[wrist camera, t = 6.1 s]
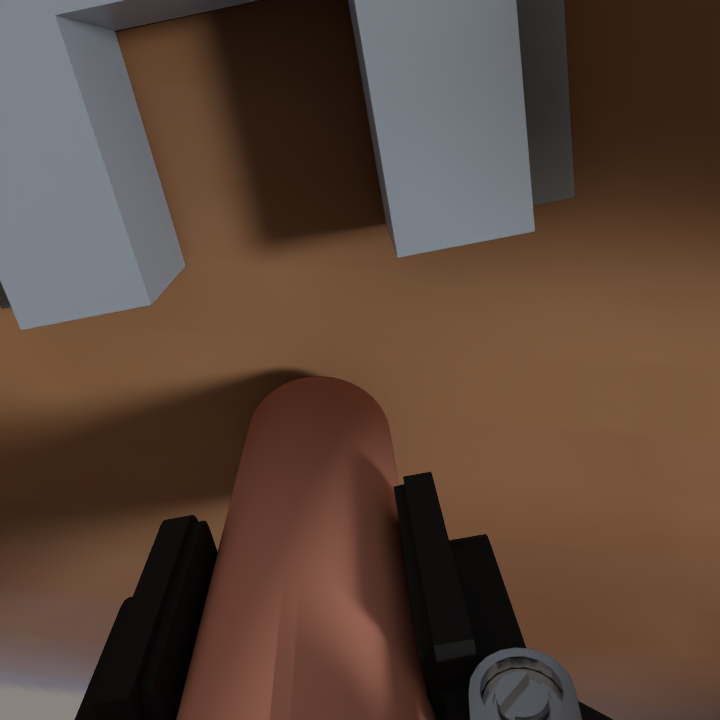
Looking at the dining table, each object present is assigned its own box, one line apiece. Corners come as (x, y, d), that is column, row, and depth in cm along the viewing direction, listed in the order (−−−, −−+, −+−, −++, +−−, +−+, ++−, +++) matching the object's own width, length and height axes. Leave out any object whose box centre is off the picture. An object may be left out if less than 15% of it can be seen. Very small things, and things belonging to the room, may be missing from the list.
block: (453, -235, 12) (489, -336, 9) (498, 204, 15) (535, 231, 12) (-72, -116, 12) (-193, -178, 9) (78, 286, 15) (20, 330, 12)
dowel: (377, 363, 15) (489, 1060, 4) (400, 487, 17) (530, 1249, 6) (230, 391, 16) (-19, 1133, 5) (266, 511, 17) (143, 1303, 6)
